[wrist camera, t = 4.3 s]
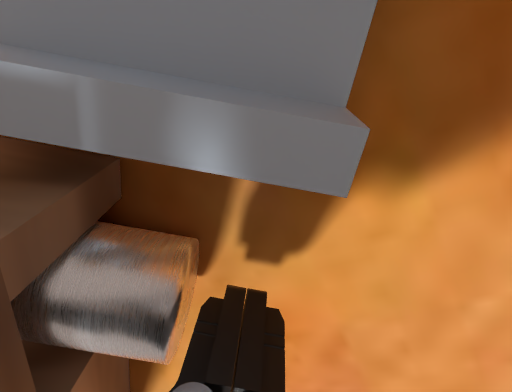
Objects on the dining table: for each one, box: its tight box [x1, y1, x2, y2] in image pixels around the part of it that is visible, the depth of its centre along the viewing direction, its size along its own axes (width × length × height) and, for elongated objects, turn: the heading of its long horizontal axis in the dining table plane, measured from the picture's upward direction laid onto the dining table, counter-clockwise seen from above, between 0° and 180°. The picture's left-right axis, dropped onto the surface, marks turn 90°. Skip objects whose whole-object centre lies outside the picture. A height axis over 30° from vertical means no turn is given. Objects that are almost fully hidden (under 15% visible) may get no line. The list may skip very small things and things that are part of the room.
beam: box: [0, 136, 130, 392], centre depth 12 cm, size 5×18×7 cm, turn 171°
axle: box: [10, 221, 199, 365], centre depth 10 cm, size 12×4×4 cm, turn 81°
